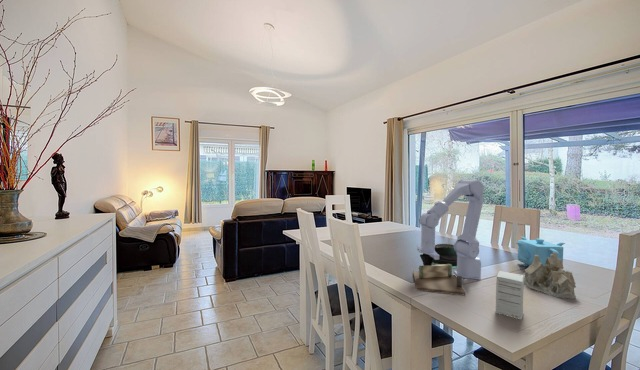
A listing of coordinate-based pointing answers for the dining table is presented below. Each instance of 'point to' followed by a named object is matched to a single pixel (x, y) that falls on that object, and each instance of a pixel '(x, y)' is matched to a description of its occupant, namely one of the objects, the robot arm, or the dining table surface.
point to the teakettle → (537, 250)
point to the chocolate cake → (446, 255)
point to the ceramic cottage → (550, 277)
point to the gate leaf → (435, 271)
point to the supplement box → (509, 294)
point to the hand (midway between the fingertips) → (427, 270)
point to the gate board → (440, 284)
